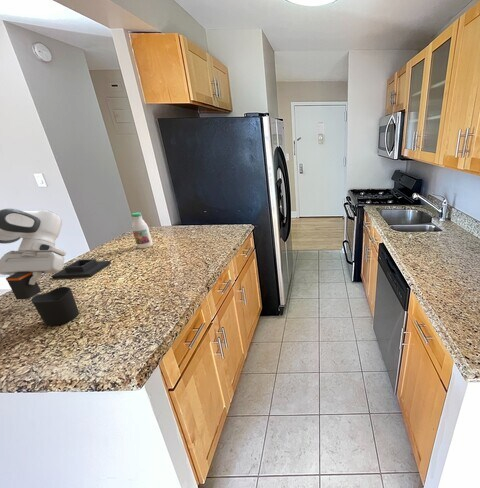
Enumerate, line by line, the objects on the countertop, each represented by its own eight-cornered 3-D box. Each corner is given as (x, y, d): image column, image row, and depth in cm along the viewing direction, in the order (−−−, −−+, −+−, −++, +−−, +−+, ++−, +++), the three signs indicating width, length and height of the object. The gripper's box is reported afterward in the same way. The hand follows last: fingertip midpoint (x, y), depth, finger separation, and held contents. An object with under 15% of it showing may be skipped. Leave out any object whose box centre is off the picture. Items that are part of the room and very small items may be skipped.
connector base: (52, 278, 117) (49, 270, 115) (77, 264, 130) (74, 257, 128) (90, 276, 118) (87, 269, 117) (111, 263, 131) (108, 256, 130)
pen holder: (73, 323, 88) (61, 298, 84) (37, 330, 85) (24, 304, 81) (85, 308, 96) (75, 284, 92) (53, 313, 93) (42, 289, 89)
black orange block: (16, 299, 95) (5, 278, 91) (29, 292, 99) (19, 271, 96) (28, 299, 95) (18, 277, 92) (41, 291, 100) (31, 270, 96)
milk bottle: (141, 244, 155) (132, 211, 148) (155, 243, 156) (146, 211, 148) (134, 249, 148) (124, 215, 141) (148, 248, 149) (139, 214, 141)
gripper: (-3, 247, 96) (-20, 284, 91) (57, 246, 98) (44, 281, 93) (14, 254, 102) (0, 288, 97) (71, 252, 104) (59, 285, 99)
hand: (22, 285), depth 95 cm, fingers closed on black orange block, 4 cm apart
